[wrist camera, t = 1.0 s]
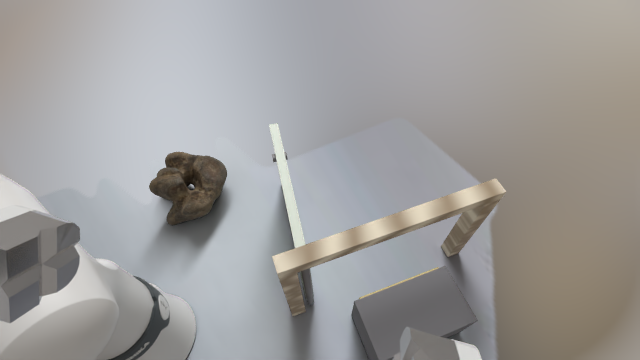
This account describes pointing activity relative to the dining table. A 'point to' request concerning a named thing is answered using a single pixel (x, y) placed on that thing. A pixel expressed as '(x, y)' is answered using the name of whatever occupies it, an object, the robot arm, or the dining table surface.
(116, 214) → the dining table surface
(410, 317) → the block
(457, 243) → the door frame
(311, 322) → the dining table surface
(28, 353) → the robot arm
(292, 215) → the door
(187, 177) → the decorative stone
